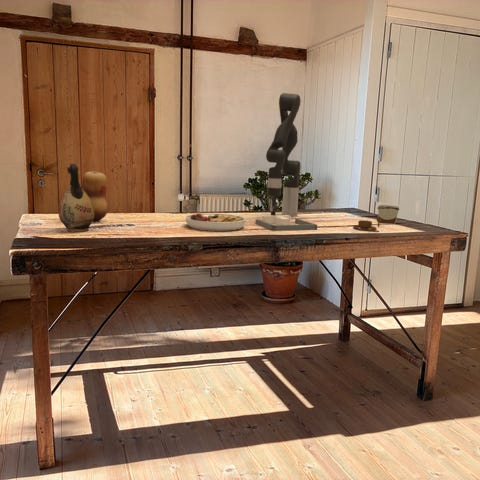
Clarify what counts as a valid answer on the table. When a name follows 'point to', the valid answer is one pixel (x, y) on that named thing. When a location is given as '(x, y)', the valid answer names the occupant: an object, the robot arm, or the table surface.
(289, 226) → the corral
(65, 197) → the ceramic jug
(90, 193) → the brown hourglass-shaped piece
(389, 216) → the food container
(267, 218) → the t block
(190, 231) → the table surface
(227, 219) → the bowl
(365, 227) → the place setting
